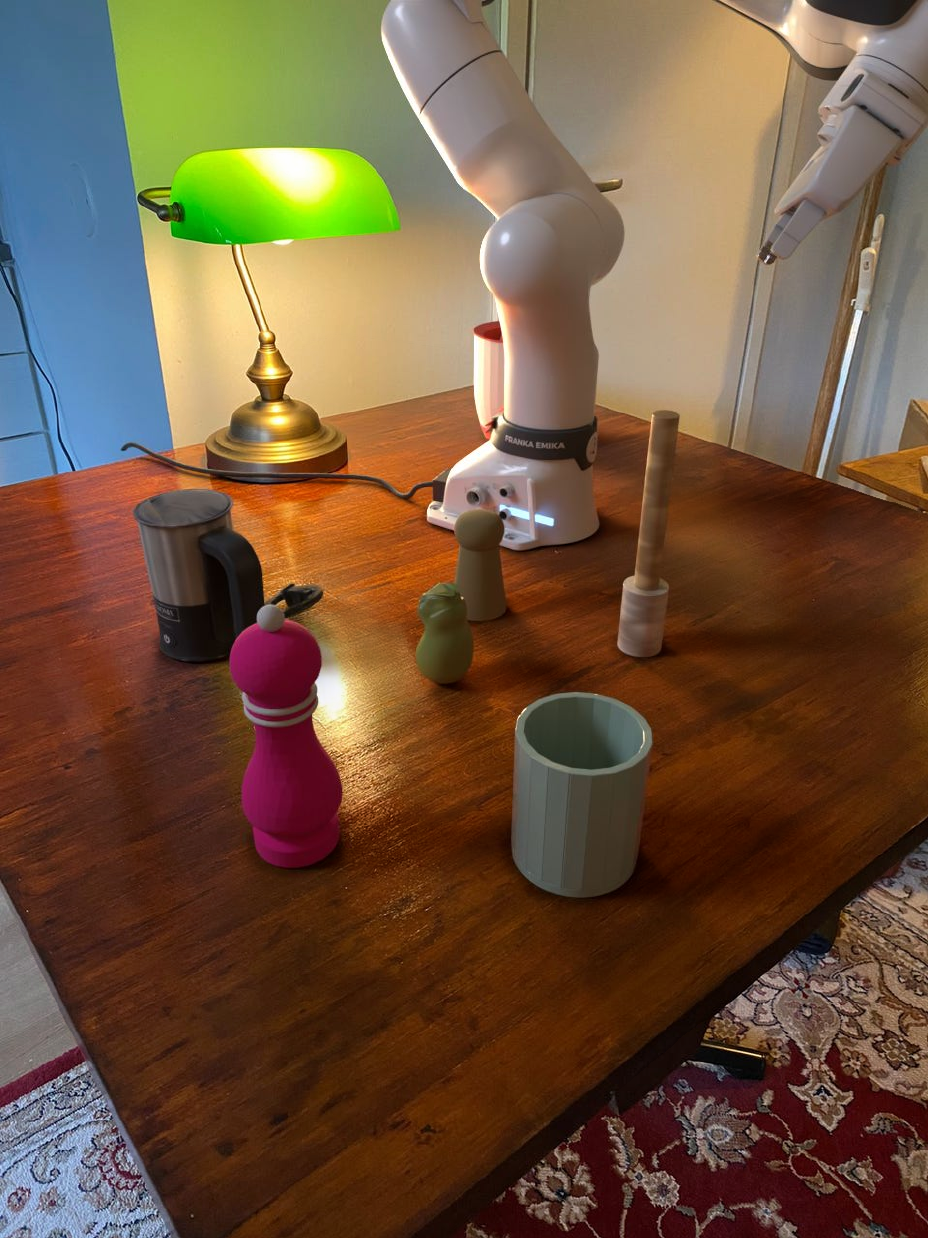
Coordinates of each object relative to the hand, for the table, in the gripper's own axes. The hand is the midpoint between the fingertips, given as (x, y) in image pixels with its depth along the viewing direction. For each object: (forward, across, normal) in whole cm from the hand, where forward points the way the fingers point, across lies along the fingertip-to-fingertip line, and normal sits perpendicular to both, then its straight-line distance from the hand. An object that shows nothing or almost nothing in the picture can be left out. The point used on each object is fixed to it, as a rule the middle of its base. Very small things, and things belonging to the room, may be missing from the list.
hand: (769, 258), depth 86 cm
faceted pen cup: (+44, +37, +11) cm, 58 cm away
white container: (+36, -54, -11) cm, 65 cm away
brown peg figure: (+44, +3, -4) cm, 45 cm away
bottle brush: (+36, +8, +12) cm, 39 cm away
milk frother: (+58, +12, -23) cm, 63 cm away
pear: (+48, +17, -3) cm, 51 cm away
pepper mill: (+55, +40, -6) cm, 68 cm away
